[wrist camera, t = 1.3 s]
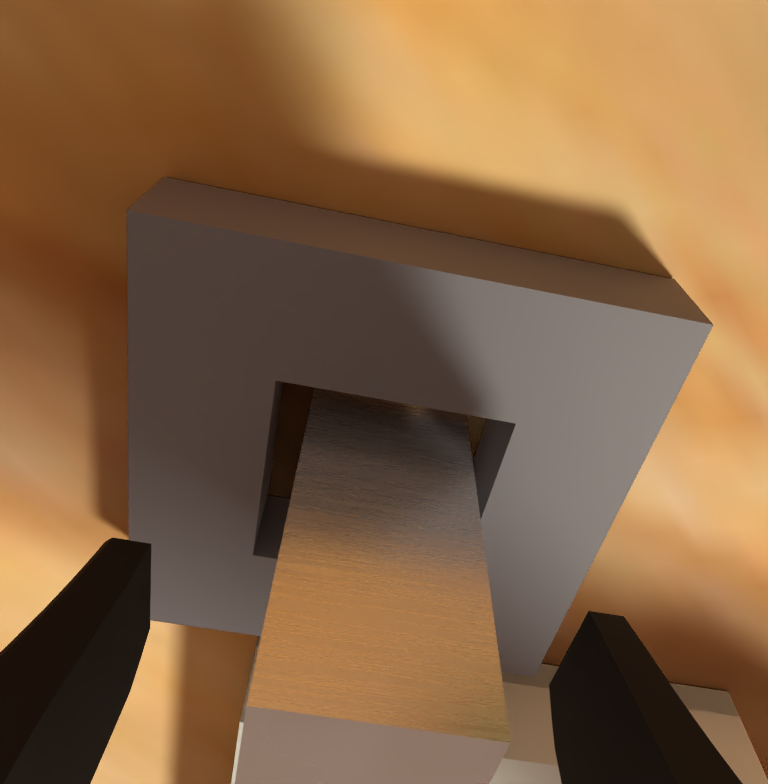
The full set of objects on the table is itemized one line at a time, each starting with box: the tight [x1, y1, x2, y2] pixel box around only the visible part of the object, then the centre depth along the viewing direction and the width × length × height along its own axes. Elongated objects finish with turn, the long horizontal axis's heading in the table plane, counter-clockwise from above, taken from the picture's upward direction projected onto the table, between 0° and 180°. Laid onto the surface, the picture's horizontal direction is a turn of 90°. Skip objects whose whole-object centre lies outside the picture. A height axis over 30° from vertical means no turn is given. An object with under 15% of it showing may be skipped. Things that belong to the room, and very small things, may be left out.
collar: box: [127, 177, 713, 677], centre depth 15 cm, size 10×10×2 cm
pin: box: [235, 387, 511, 784], centre depth 12 cm, size 3×3×8 cm
